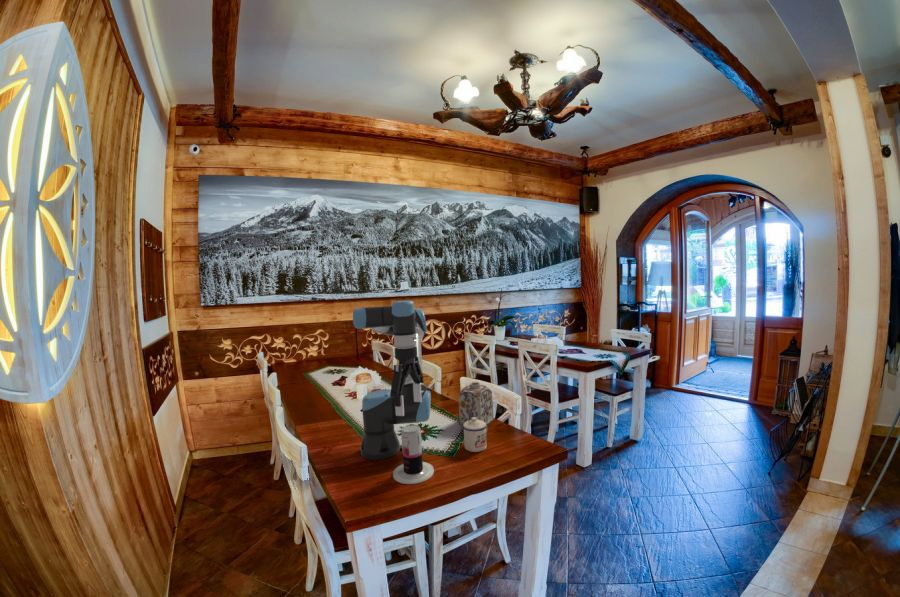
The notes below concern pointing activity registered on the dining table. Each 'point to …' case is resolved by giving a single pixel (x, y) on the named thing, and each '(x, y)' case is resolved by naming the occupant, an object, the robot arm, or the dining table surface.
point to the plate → (413, 479)
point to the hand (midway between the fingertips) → (409, 408)
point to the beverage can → (412, 449)
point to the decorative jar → (475, 403)
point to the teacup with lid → (475, 435)
